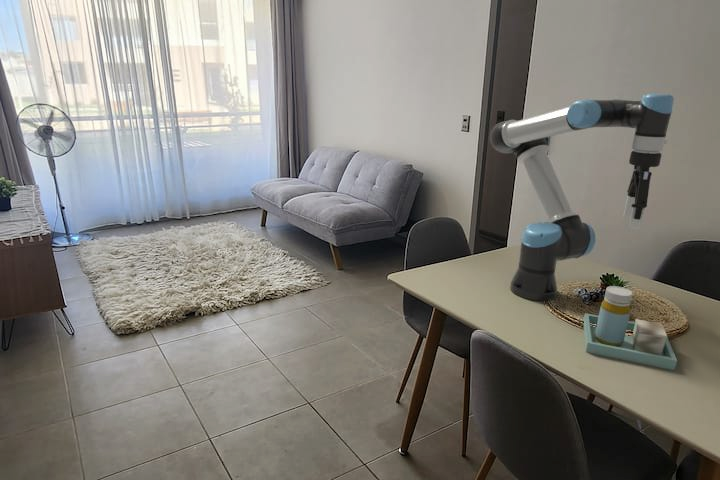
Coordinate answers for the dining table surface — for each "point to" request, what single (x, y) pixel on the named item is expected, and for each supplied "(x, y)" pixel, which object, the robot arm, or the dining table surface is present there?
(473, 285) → the dining table surface
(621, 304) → the bottle
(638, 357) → the tote
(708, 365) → the dining table surface
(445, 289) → the dining table surface
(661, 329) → the beige rectangular box
